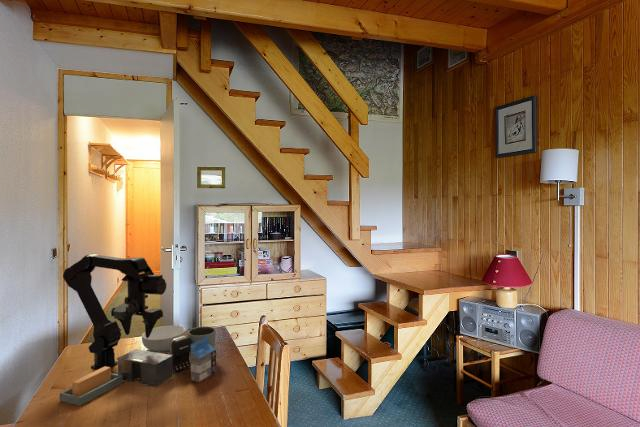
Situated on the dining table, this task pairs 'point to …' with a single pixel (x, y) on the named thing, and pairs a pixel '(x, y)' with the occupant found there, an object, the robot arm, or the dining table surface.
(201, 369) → the label tape cartridge
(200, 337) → the gray cylindrical cup
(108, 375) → the orange-brown rectangular block
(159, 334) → the cereal bowl
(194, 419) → the dining table surface
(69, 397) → the tray
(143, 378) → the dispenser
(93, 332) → the robot arm
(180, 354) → the battery charger
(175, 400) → the dining table surface
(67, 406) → the dining table surface
